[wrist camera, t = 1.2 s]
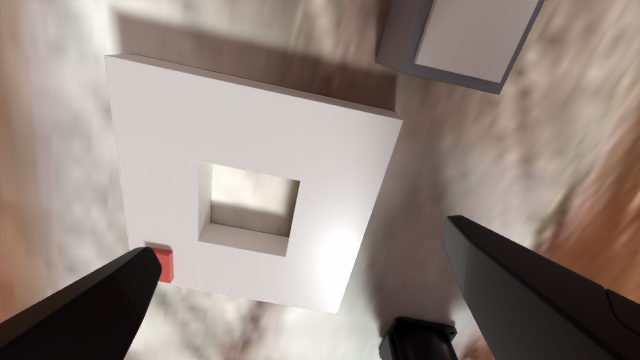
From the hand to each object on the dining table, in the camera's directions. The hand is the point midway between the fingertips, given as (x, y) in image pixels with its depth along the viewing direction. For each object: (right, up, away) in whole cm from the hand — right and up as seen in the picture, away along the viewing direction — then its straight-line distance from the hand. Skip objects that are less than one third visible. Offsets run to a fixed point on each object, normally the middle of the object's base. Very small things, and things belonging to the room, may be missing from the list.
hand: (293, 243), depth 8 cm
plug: (+7, +11, +9) cm, 16 cm away
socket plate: (-5, +1, +14) cm, 15 cm away
